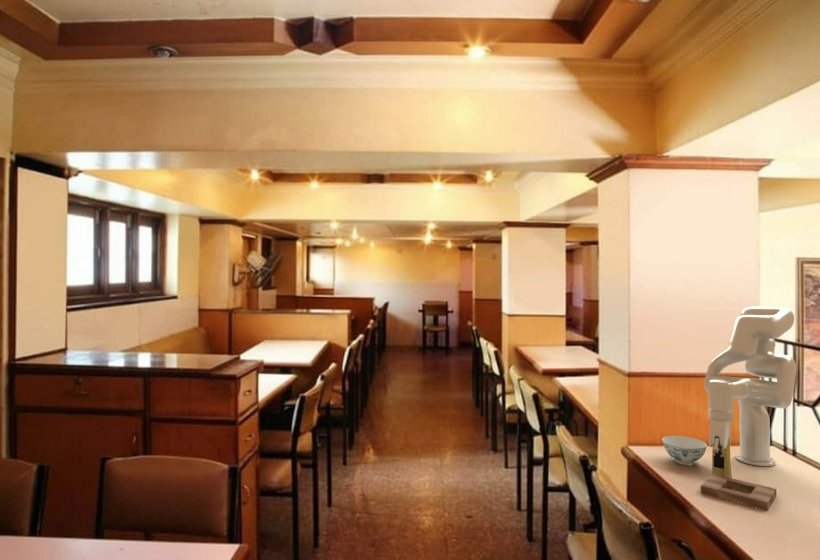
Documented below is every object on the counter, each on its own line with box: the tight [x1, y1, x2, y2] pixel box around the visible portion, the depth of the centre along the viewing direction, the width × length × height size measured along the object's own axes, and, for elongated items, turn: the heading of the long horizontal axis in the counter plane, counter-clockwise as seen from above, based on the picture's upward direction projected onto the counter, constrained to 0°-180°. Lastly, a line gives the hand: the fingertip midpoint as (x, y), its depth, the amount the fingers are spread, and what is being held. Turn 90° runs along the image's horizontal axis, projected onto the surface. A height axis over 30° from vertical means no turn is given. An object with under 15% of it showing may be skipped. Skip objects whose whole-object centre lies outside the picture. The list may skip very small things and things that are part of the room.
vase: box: [711, 437, 733, 478], centre depth 176 cm, size 6×6×14 cm
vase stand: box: [700, 473, 777, 511], centre depth 160 cm, size 14×18×2 cm
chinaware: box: [661, 435, 708, 466], centre depth 190 cm, size 15×15×8 cm
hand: (721, 464), depth 176 cm, fingers closed on vase, 5 cm apart
